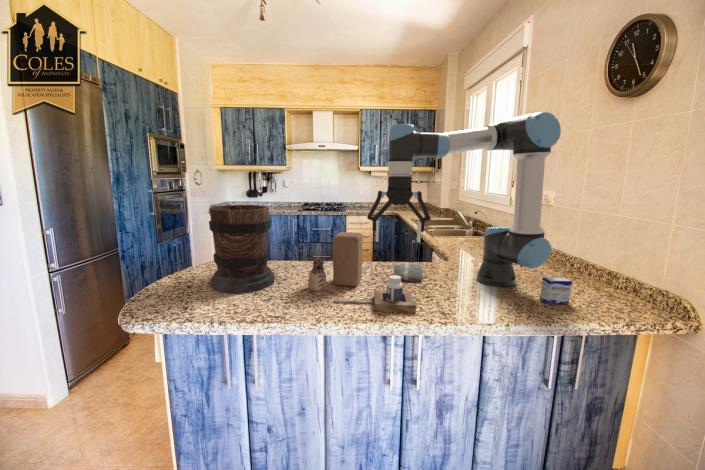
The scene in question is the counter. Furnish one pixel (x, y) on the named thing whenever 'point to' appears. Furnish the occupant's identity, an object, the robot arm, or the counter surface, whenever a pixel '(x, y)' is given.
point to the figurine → (317, 277)
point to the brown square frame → (388, 302)
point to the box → (555, 290)
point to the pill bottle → (394, 289)
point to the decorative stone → (408, 271)
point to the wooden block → (347, 259)
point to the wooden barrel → (241, 248)
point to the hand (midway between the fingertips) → (397, 241)
